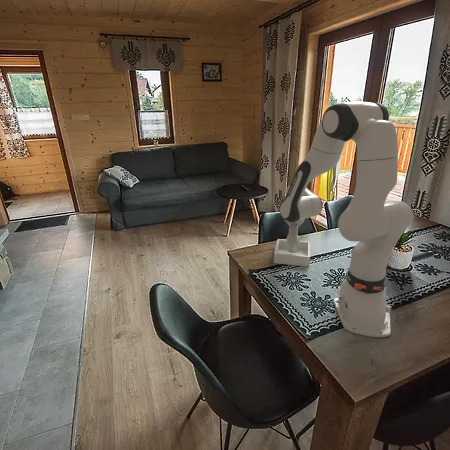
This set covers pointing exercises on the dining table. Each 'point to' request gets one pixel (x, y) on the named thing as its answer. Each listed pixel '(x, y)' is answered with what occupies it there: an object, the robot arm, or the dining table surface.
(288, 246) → the pale green rounded block
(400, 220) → the robot arm
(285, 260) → the bin
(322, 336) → the dining table surface
